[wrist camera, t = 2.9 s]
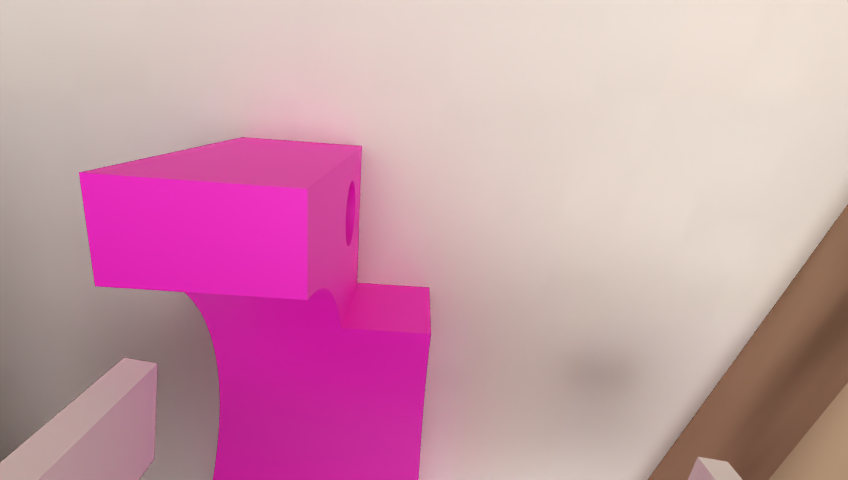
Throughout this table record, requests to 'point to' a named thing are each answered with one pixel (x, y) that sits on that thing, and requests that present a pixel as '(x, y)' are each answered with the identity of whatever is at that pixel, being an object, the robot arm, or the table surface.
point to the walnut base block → (783, 385)
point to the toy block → (275, 302)
